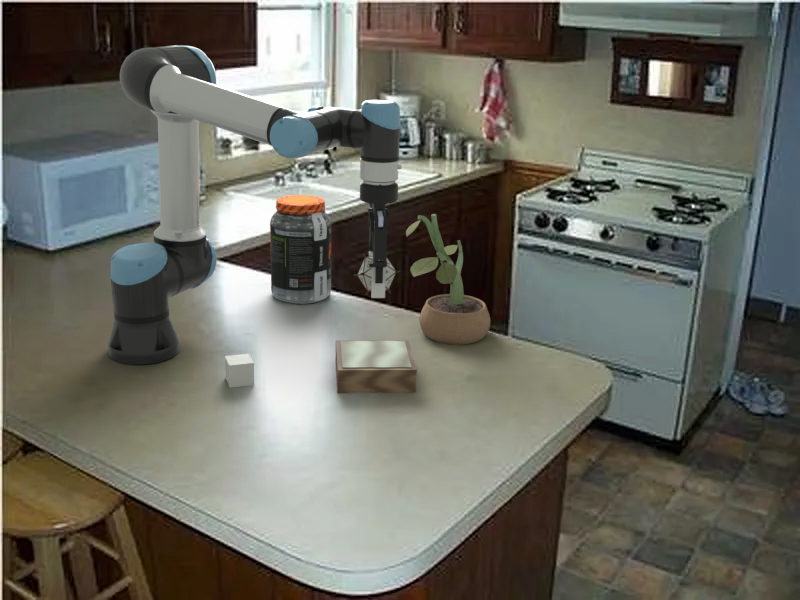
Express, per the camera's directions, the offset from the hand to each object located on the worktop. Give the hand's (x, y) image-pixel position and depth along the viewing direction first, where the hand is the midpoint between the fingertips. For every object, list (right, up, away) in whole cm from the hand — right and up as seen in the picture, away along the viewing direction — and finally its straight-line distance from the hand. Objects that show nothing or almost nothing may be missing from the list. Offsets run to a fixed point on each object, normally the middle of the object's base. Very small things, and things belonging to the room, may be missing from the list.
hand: (376, 289), depth 185 cm
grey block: (-28, -19, +2) cm, 34 cm away
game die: (0, -1, 0) cm, 1 cm away
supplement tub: (-21, -1, +54) cm, 58 cm away
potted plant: (+15, -11, +31) cm, 36 cm away
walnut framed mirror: (-1, -18, +7) cm, 20 cm away
